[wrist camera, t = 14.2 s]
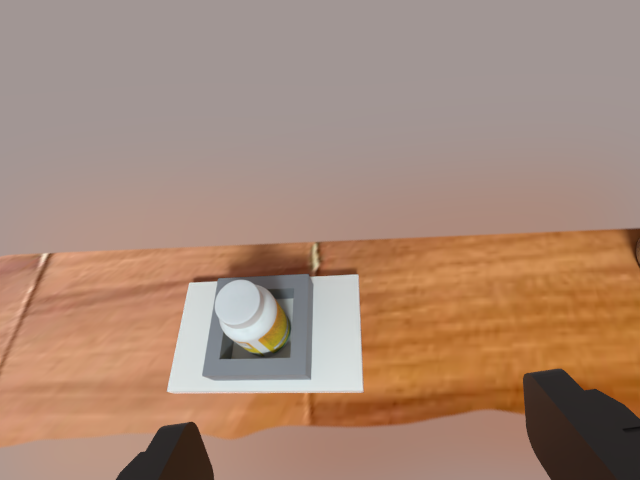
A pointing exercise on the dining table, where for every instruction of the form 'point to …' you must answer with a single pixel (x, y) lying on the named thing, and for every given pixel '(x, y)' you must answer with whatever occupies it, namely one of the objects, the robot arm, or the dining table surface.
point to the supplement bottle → (252, 318)
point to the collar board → (293, 360)
